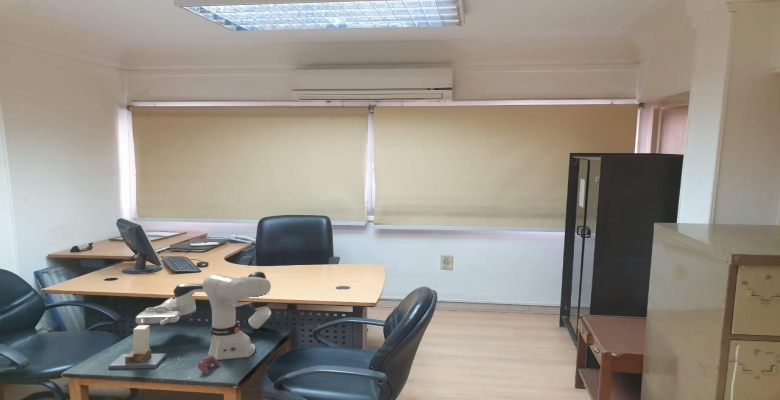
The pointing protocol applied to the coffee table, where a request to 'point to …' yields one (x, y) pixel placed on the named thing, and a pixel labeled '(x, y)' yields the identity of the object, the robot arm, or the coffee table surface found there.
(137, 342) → the cream pillar
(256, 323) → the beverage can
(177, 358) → the coffee table surface
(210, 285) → the robot arm
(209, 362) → the video game controller
